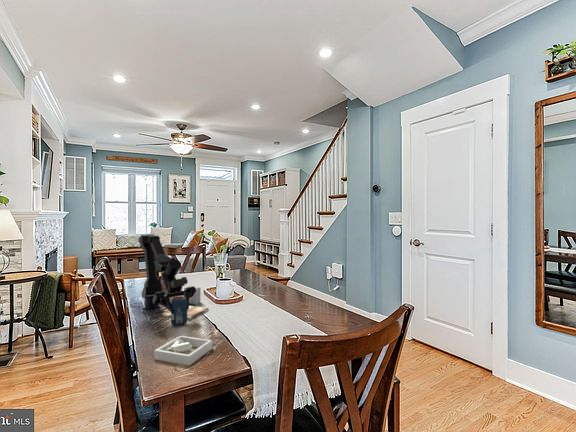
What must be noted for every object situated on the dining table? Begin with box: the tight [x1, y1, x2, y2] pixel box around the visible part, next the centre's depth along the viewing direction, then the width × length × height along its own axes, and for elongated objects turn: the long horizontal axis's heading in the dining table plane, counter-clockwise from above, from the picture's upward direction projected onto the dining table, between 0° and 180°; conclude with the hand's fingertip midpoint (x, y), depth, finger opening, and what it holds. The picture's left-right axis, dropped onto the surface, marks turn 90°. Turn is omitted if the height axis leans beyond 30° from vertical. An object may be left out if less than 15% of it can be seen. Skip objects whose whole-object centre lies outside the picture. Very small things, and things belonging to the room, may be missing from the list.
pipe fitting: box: [166, 339, 193, 354], centre depth 113 cm, size 8×4×7 cm
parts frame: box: [153, 335, 213, 366], centre depth 113 cm, size 14×14×3 cm
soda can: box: [170, 296, 188, 328], centre depth 142 cm, size 7×7×12 cm
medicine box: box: [183, 286, 202, 305], centre depth 177 cm, size 8×4×9 cm, turn 74°
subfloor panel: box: [161, 305, 209, 321], centre depth 159 cm, size 16×16×1 cm
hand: (180, 310), depth 141 cm, fingers closed on soda can, 7 cm apart
